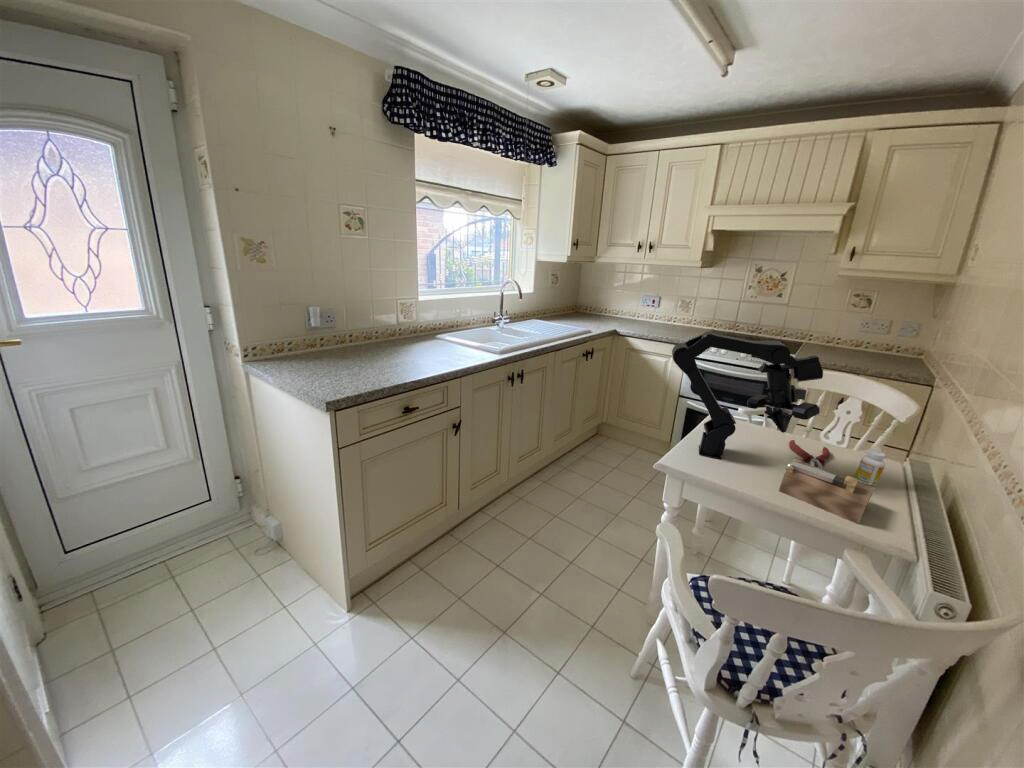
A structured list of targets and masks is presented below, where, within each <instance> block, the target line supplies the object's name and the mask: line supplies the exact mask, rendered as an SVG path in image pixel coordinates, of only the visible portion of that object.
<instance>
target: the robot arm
mask: <svg viewBox="0 0 1024 768" xmlns="http://www.w3.org/2000/svg"><path fill="white" fill-rule="evenodd" d="M710 348H713V349H718V350H725V351H729V352H733V353H734V352H735V353H740V354H745V355H750V356H754V357H756V358H758V359H760V360H762V361H763V363H762V364H761V365H760V366H759V367H758V368H757V370H758V371H760V374H761V373H762V374H765V373H766V381H767V387H766V388H764V391H765V393H768V395H766V394H761V393H758V394H757V395H754V396H752V397H749V398H748V400H747V403H746V405H747V408H748V409H749V408H750V409H753V410H756V409H758V408H759V406H764V407H765V411H764V414H766V415H767V416H768V417H769V418H770V419H771V421H772V422H773V423H774V424H775V426H776V427H777V428H778V430H779V431H780V433H783V434H784V433H786V432H787V429H788V427H789V424H790V422H791V419H792V418H793V417H794V418H795V419H799V420H805V421H806V420H807V421H808V420H809V419H811V418H814V417H816V416H818V415H820V407H819V406H818V404H815V403H811V402H807V401H806V402H805V400H806V394H807V389H803V388H799V387H796V386H795V384H792V383H791V381H792V380H796V382H797V383H800V382H808V381H816V380H821V379H823V377H824V369H823V367H822V365H821V362H820V358H819V357H818V356H817V355H810V356H807V357H801V358H795V357H794V356H793V355H791V351H790V349H789V348H788V347H787V346H786V345H785V344H784V343H782V342H781V341H778V340H768V339H767V340H750V339H746V338H745V339H744V338H739V337H735V336H734V337H733V336H729V335H725V334H724V335H723V334H719V333H713V332H712V331H705V332H704V333H702V334H700V335H698V336H696V337H694V338H691V339H689V340H687V341H686V342H679V343H677V344H675V345H674V346H673V348H672V350H671V356H672V361H673V362H674V363H675V364H676V365H677V367H678V368H679V369H680V370H681V372H683V373H684V374H685V375H686V376H687V378H688V379H689V381H690V383H691V384H692V386H693V388H694V389H695V391H696V393H697V394H698V396H699V398H700V400H701V401H702V403H703V404H704V406H705V408H706V410H707V411H708V413H709V418H710V419H709V420H708V421H706V422H704V423H703V428H704V431H703V432H702V435H701V440H700V444H699V445H698V455H699V456H704V457H708V458H712V459H717V460H721V459H722V456H723V455H724V451H725V448H726V440H727V439H728V438H729V437H731V436H733V434H735V432H736V428H737V427H736V424H737V422H736V420H735V418H734V415H733V414H732V413H731V412H730V409H729V408H728V405H725V406H723V407H722V406H721V405H720V403H719V402H718V400H717V399H716V397H715V395H714V393H713V392H712V390H711V388H710V386H709V385H708V383H707V381H706V380H705V378H704V377H703V375H702V373H701V371H700V369H699V367H698V365H697V361H696V359H695V358H697V357H699V356H700V355H701V354H703V353H705V352H706V351H707V350H708V349H710ZM764 361H765V362H764ZM766 362H768V363H770V364H768V363H766ZM791 379H792V380H791ZM798 400H802V401H804V402H801V403H800V404H796V403H798V402H799V401H798Z"/></svg>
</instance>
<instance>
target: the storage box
mask: <svg viewBox="0 0 1024 768" xmlns="http://www.w3.org/2000/svg"><path fill="white" fill-rule="evenodd" d="M792 461H795V462H797V463H800V464H803V465H806V466H809V467H812V468H815V469H818V470H821V471H824V472H827V473H830V474H833V475H837V476H840V477H843V476H841V475H838V474H835V473H833V472H830V471H827V470H825V469H823V470H822V469H819V468H817V467H816V466H811V465H810V464H809V463H807V462H803V461H801V460H798V459H796V458H794V459H792ZM843 478H845V480H844V483H843V484H842V486H839V485H836V484H833V483H830V482H827V481H825V480H822V479H819V478H816V477H813V476H810V475H807V474H804V473H801V472H798V471H795V470H794V467H791V466H787V465H786V467H785V473H784V474H783V476H782V479H781V482H780V486H779V489H778V492H780V493H782V494H786V495H787V496H790V497H792V498H794V497H795V499H797V500H799V501H802V502H804V501H805V503H806V502H807V504H810V505H811V504H812V506H814V507H817V508H818V509H821V510H823V509H824V511H826V512H829V513H831V514H833V515H835V514H836V515H835V516H838V515H839V516H838V517H840V516H841V518H843V519H845V520H847V519H848V520H847V521H850V522H853V523H855V524H858V525H859V524H860V522H861V519H862V518H863V516H864V513H865V511H866V509H867V507H868V505H869V502H870V500H871V498H872V495H873V493H874V490H875V487H873V486H870V485H866V484H863V483H861V482H859V481H858V479H855V477H853V476H850V475H847V476H846V477H843ZM862 515H863V516H862Z"/></svg>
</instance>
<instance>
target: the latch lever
mask: <svg viewBox="0 0 1024 768" xmlns="http://www.w3.org/2000/svg"><path fill="white" fill-rule="evenodd" d="M787 466H791V467H794V470H795V471H798V472H801V473H804V474H807V475H810V476H813V477H816V478H819V479H822V480H825V481H827V482H830V483H833V484H836V485H839V486H842V484H843V483H844V480H845V478H846V477H844V478H843V476H842V477H840V476H841V475H839V476H837V475H838V474H836V475H833V474H834V473H833V474H830V473H831V472H830V473H827V472H824V471H821V470H818V469H815V468H812V467H809V466H806V465H803V464H800V463H797V462H795V461H793V460H791V461H790V462H789V463H788V464H787V465H786V467H787Z"/></svg>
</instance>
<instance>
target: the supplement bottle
mask: <svg viewBox="0 0 1024 768" xmlns="http://www.w3.org/2000/svg"><path fill="white" fill-rule="evenodd" d="M885 458H886V454H885V453H884V452H882V451H880V450H877V449H872V448H871V449H867V452H866V454H865V455H862V457H861V459H860V461H859V464H858V466H857V469H856V472H855V474H854V478H855V479H858V483H861V484H863V483H864V485H866V484H869V485H868V486H870V485H875V486H877V485H878V483H879V481H880V479H881V476H882V473H883V471H884V469H885V466H886V462H885Z"/></svg>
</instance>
